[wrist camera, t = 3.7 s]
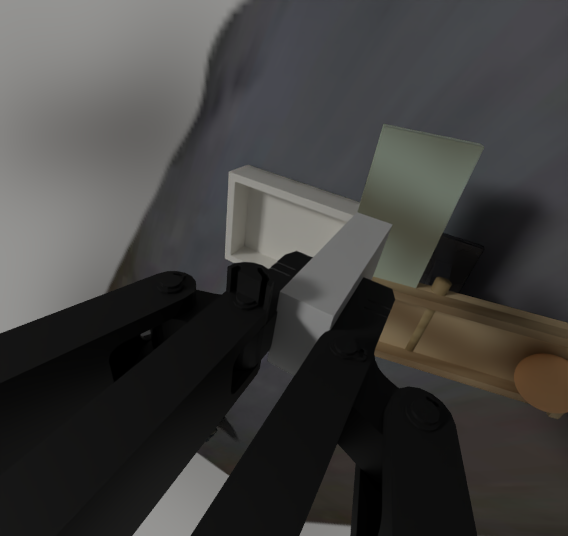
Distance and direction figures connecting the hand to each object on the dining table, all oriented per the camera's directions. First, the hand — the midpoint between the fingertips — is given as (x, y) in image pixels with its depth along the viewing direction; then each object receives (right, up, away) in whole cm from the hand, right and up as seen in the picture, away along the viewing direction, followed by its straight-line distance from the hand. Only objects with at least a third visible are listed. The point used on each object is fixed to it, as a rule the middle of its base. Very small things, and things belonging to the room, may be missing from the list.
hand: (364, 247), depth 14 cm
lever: (+9, -2, +7) cm, 11 cm away
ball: (+13, -8, +6) cm, 17 cm away
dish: (-2, +3, +18) cm, 18 cm away
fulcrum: (+9, -2, +14) cm, 17 cm away
